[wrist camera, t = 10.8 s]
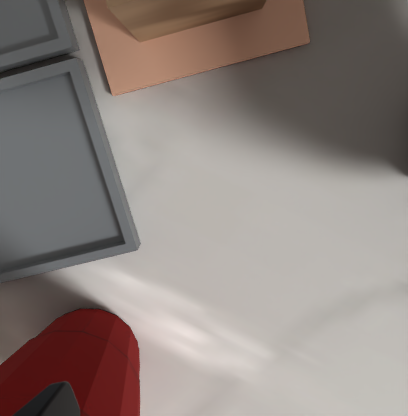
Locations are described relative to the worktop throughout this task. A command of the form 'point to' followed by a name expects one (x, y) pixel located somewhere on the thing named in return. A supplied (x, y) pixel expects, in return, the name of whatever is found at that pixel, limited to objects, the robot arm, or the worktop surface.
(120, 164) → the worktop surface
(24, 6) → the tray
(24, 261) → the tray
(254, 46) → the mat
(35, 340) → the plastic cup
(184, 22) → the cardboard box
